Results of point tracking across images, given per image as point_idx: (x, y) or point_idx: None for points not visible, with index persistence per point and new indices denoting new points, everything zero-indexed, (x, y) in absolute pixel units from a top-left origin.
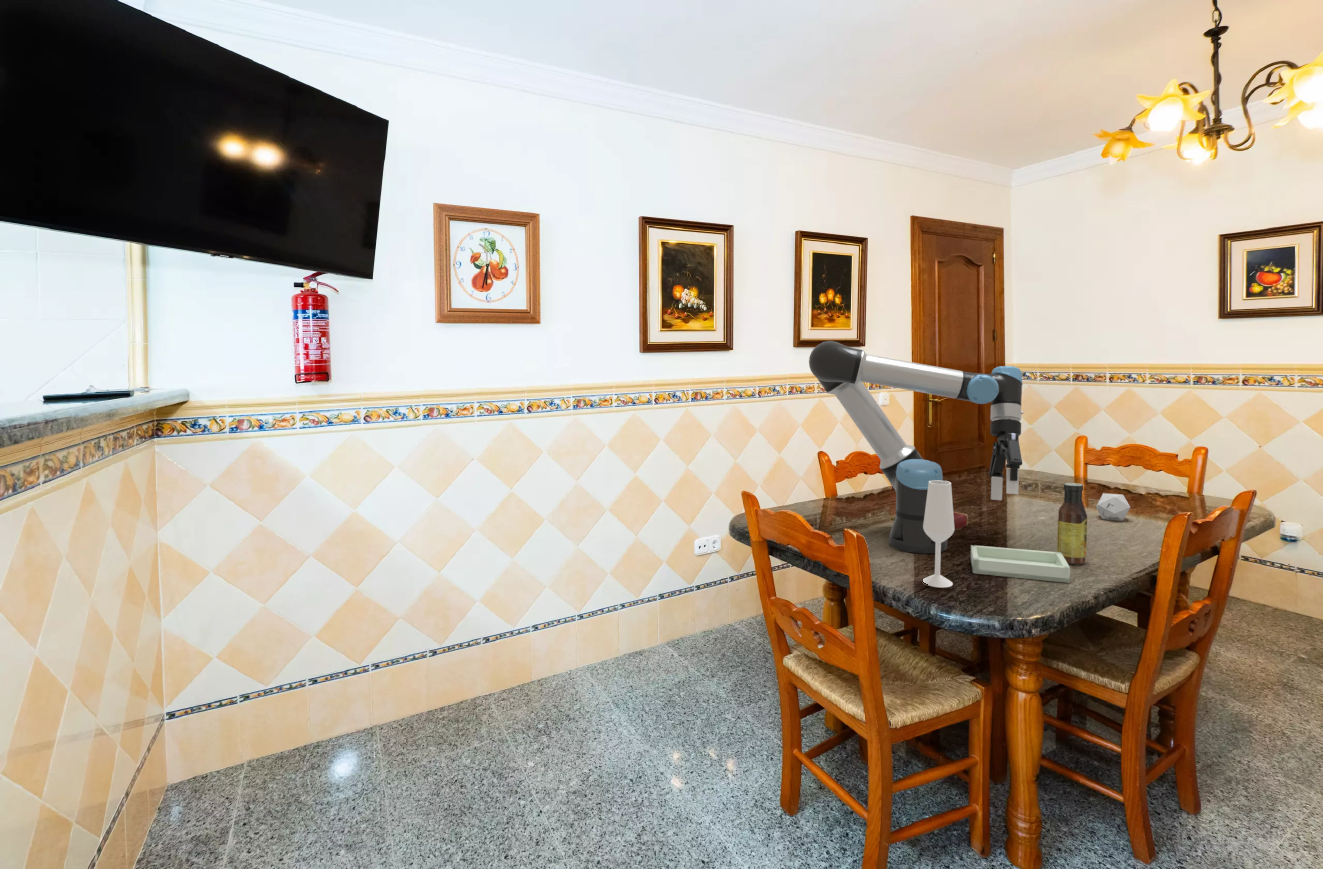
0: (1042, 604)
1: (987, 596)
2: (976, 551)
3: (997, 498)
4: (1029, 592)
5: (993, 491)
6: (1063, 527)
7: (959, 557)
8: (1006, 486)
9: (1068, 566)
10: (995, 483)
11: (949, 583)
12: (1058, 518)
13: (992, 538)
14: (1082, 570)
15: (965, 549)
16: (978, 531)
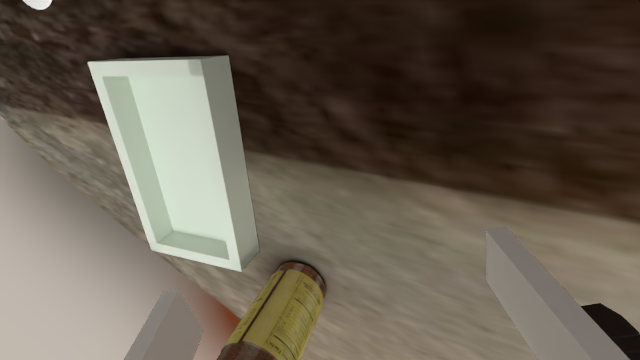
0: (65, 164)
1: (36, 81)
2: (149, 74)
3: (490, 265)
4: (96, 156)
5: (518, 280)
6: (235, 331)
7: (220, 20)
8: (156, 325)
9: (159, 250)
10: (565, 355)
11: (27, 1)
12: (246, 350)
13: (488, 149)
14: (252, 278)
15: (310, 40)
16: (618, 105)
